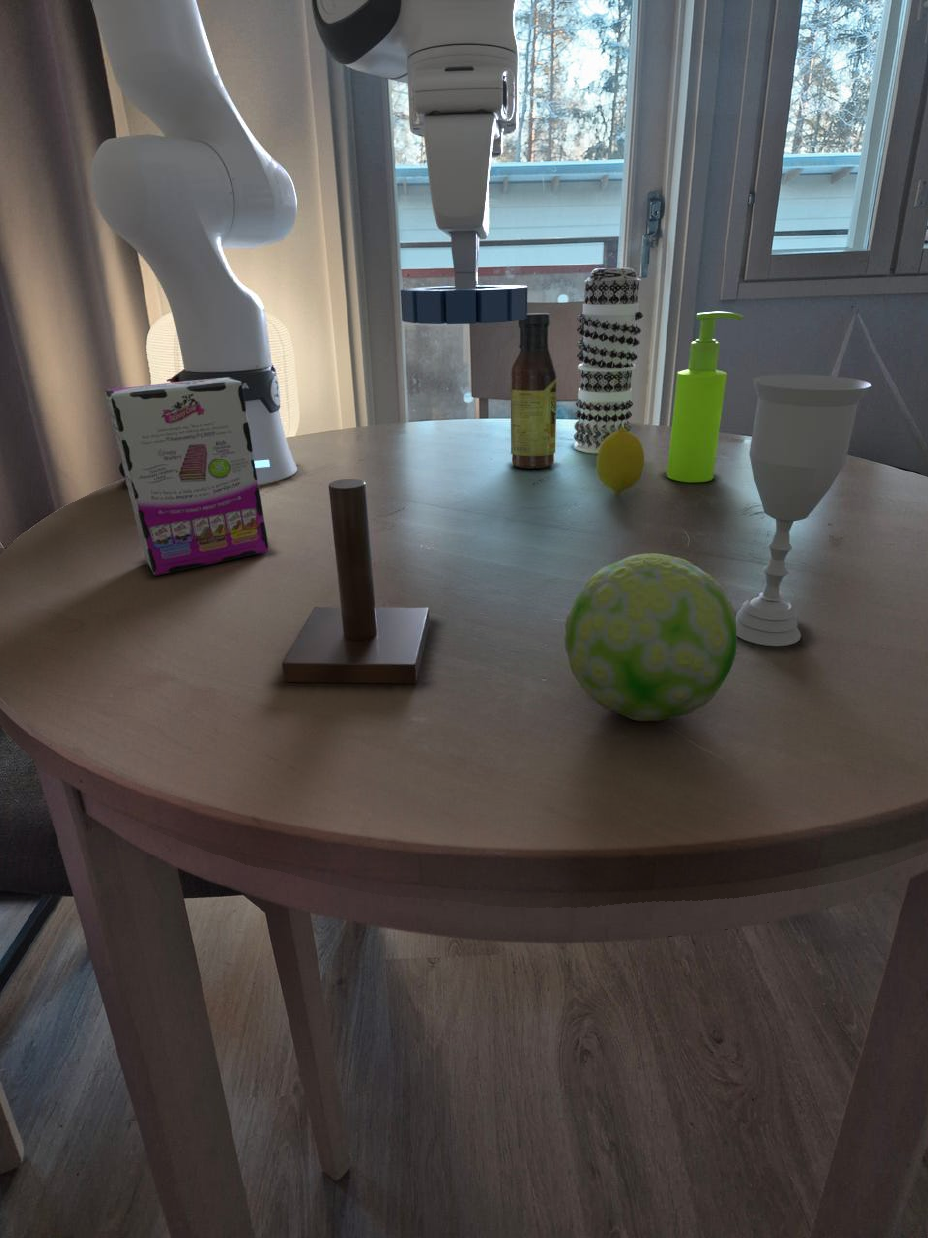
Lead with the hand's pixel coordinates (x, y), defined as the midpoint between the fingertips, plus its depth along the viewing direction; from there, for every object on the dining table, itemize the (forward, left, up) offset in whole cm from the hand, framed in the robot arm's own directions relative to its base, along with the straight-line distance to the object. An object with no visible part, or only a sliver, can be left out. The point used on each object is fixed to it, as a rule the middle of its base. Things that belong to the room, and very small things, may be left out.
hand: (466, 294), depth 63 cm
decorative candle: (+18, +43, -23) cm, 52 cm away
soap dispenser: (+28, +25, -23) cm, 44 cm away
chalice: (+23, -20, -23) cm, 39 cm away
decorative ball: (+12, -31, -23) cm, 41 cm away
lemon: (+17, +17, -23) cm, 34 cm away
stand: (-7, -24, -23) cm, 34 cm away
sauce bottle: (+7, +32, -23) cm, 40 cm away
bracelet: (0, -4, -2) cm, 5 cm away
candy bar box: (-26, -5, -23) cm, 35 cm away
